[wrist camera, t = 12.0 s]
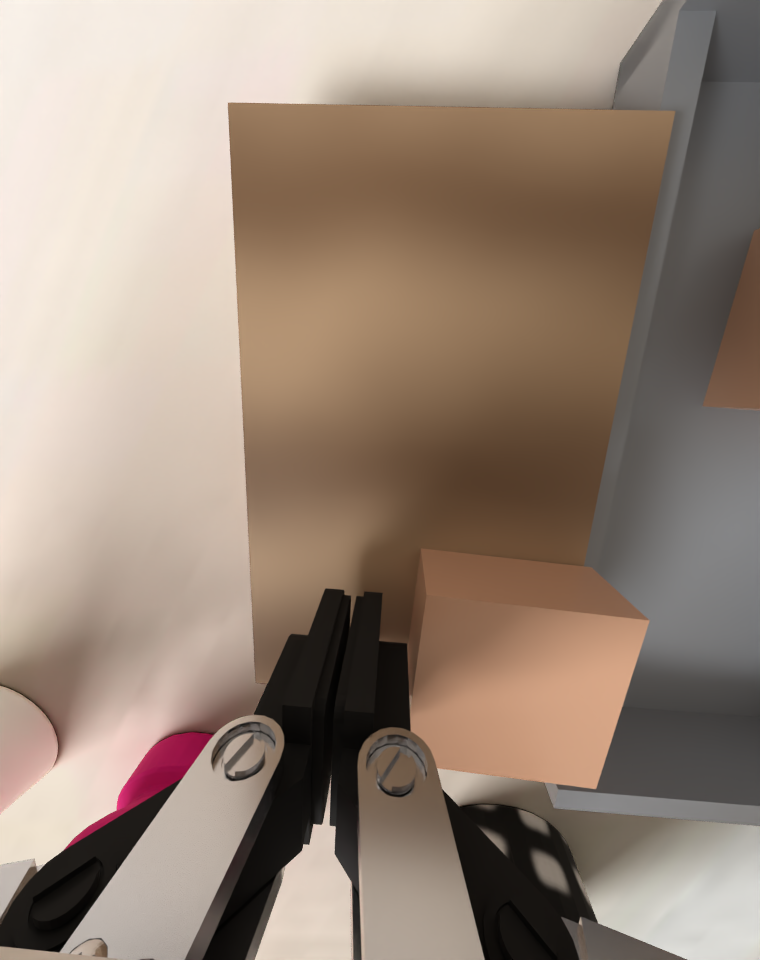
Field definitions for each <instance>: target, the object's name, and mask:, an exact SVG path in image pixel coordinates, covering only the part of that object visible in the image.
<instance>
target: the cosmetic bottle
mask: <svg viewBox="0 0 760 960" xmlns="http://www.w3.org/2000/svg"><path fill="white" fill-rule="evenodd" d="M57 753H58V742H57V737H56V733H55V731H54V728H53V726H52V724H51V723H50V721H49V719H48V718H47V717H46V715H45V714H44V713H43V712H42V711H41V710H40V709H39V708H38V707H37V706H36V705H35V704H34V703H33V702H31V701H30V700H29V699H27V698H26V697H24V696H23V695H21V694H19V693H17V692H15V691H13V690H11V689H8V688H6V687H3V686H0V814H1V813H2V812H3V811H5V810H6V809H7V808H8V807H9V806H10V805H11V804H13V803H14V802H15V801H16V800H17V799H18V798H19V797H21V796H22V795H23V794H24V793H25V792H27V791H28V790H29V789H30V788H31V787H32V786H34V785H35V784H36V783H37V782H38V781H40V780H41V779H42V778H43V777H44V776H45V775H46V774H47V773H48V772H49V771H50V770H51V768H52V767H53V765H54V763H55V761H56V758H57Z"/></svg>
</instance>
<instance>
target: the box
mask: <svg viewBox="0 0 760 960" xmlns="http://www.w3.org/2000/svg"><path fill="white" fill-rule="evenodd" d="M613 110H652V111H675V116H674V121H673V126H672V131H671V136H670V141H669V146H668V150H667V155H666V160H665V165H664V170H663V175H662V180H661V185H660V190H659V195H658V200H657V205H656V210H655V215H654V220H653V225H652V230H651V235H650V240H649V245H648V250H647V255H646V260H645V265H644V270H643V275H642V280H641V285H640V290H639V295H638V300H637V305H636V309H635V314H634V319H633V324H632V329H631V334H630V339H629V344H628V349H627V354H626V359H625V364H624V369H623V374H622V379H621V384H620V389H619V394H618V399H617V404H616V409H615V414H614V419H613V424H612V429H611V434H610V439H609V444H608V449H607V454H606V459H605V463H604V468H603V473H602V478H601V483H600V488H599V493H598V498H597V503H596V508H595V513H594V518H593V523H592V528H591V533H590V538H589V543H588V548H587V553H586V558H585V563H584V567H592V568H593V569H594V570H595V571H596V572H597V573H598V574H599V575H600V576H602V577H603V578H604V579H605V580H606V581H607V582H608V583H609V584H610V585H611V586H612V587H614V588H615V589H616V590H617V591H618V592H619V593H620V594H621V595H622V596H623V597H625V598H626V599H627V600H628V601H629V602H630V603H631V604H632V605H633V606H634V607H635V608H637V609H638V610H639V611H640V612H641V613H642V614H643V615H644V616H645V617H646V618H648V619H649V620H650V621H649V624H648V628H647V631H646V634H645V637H644V640H643V643H642V646H641V650H640V653H639V656H638V659H637V662H636V665H635V668H634V671H633V675H632V678H631V681H630V684H629V687H628V690H627V693H626V697H625V700H624V703H623V706H622V709H621V712H620V715H619V719H618V722H617V725H616V728H615V731H614V734H613V737H612V741H611V744H610V747H609V750H608V753H607V756H606V759H605V762H604V766H603V769H602V772H601V775H600V778H599V781H598V784H597V788H596V789H591V788H583V787H576V786H568V785H560V784H553V783H545V782H544V783H545V786H546V789H547V791H548V794H549V796H550V799H551V802H552V804H553V807H554V808H555V809H567V810H579V811H590V812H602V813H614V814H626V815H637V816H649V817H661V818H673V819H684V820H696V821H708V822H719V823H731V824H743V825H755V826H760V411H754V410H742V409H729V408H717V407H705V406H703V402H704V399H705V396H706V392H707V389H708V385H709V382H710V379H711V375H712V372H713V369H714V365H715V362H716V358H717V355H718V352H719V348H720V345H721V341H722V338H723V335H724V331H725V328H726V324H727V321H728V318H729V314H730V311H731V307H732V304H733V301H734V297H735V294H736V290H737V287H738V284H739V280H740V277H741V273H742V270H743V267H744V263H745V260H746V256H747V253H748V250H749V246H750V243H751V239H752V236H753V233H754V231H755V230H757V229H759V228H760V0H663V1H662V2H661V4H660V5H659V7H658V8H657V10H656V11H655V13H654V14H653V16H652V17H651V19H650V20H649V22H648V23H647V25H646V26H645V28H644V29H643V30H642V32H641V33H640V35H639V36H638V38H637V39H636V41H635V42H634V44H633V45H632V47H631V48H630V50H629V51H628V53H627V54H626V56H625V57H624V59H623V60H622V61H621V63H620V68H619V74H618V80H617V86H616V92H615V98H614V104H613Z"/></svg>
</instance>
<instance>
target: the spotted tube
mask: <svg viewBox="0 0 760 960" xmlns="http://www.w3.org/2000/svg"><path fill="white" fill-rule="evenodd" d="M461 809H462V810H463V811H464V812H465V814H466V815H467V816H468V817H469V818H470V819H471V820H472V821H473V822H474V823H475V824H476V825H477V826H478V827H479V828H480V829H481V830H482V831H483V832H484V833H485V834H486V836H487V837H488V838H489V839H490V840H491V841H492V842H493V843H494V844H495V845H496V846H497V847H498V848H499V849H500V850H501V851H502V852H503V853H504V854H505V855H506V856H507V858H508V859H509V860H510V861H511V862H512V863H513V864H514V865H515V866H516V867H517V868H518V869H519V870H520V871H521V872H522V873H523V874H524V875H525V876H526V877H527V878H528V880H529V881H530V882H531V883H532V884H533V885H534V886H535V887H536V888H537V889H538V890H539V891H540V892H541V893H542V894H543V895H544V896H545V897H546V898H547V900H548V901H549V902H550V903H551V905H552V906H553V907H554V909H555V910H556V911H557V912H558V914H559V915H560V916H561V917H563V918H565V919H568V920H570V921H573V922H575V923H578V924H579V921H580V917H583V918H586V919H588V920H591V921H593V922H596V923H598V922H597V919H596V917H595V914H594V912H593V909H592V906H591V904H590V901H589V898H588V896H587V893H586V890H585V888H584V885H583V883H582V880H581V877H580V875H579V872H578V869H577V867H576V864H575V861H574V859H573V856H572V854H571V851H570V849H569V847H568V844H567V842H566V841H565V839H564V838H563V837H562V835H561V834H560V833H559V832H558V830H556V829H555V828H554V827H553V826H552V825H550V824H549V823H548V822H547V821H545V820H543V819H541V818H540V817H538V816H536V815H534V814H532V813H529V812H526V811H523V810H520V809H518V808H513V807H507V806H502V805H474V806H465V807H461Z"/></svg>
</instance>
